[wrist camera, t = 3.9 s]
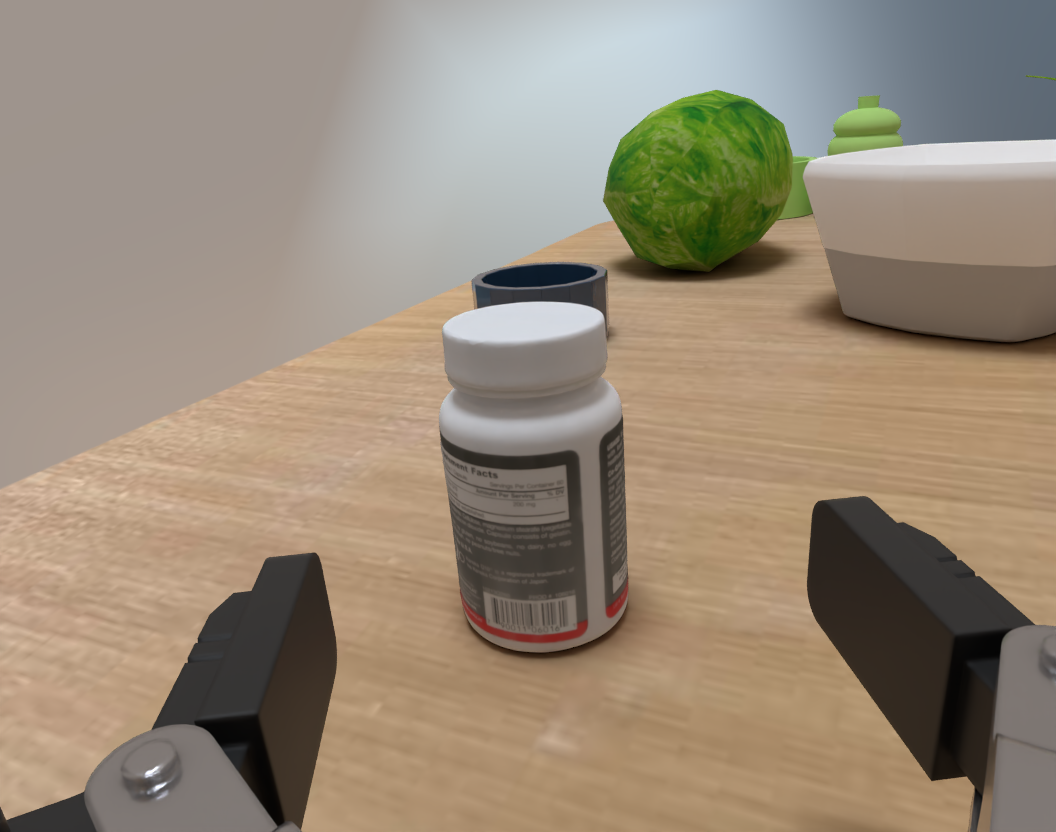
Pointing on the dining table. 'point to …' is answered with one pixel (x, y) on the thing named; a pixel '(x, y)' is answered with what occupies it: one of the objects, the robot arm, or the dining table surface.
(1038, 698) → the robot arm
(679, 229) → the lettuce
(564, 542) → the pill bottle
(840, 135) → the food container
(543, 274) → the bottle holder
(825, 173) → the bowl
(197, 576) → the dining table surface
